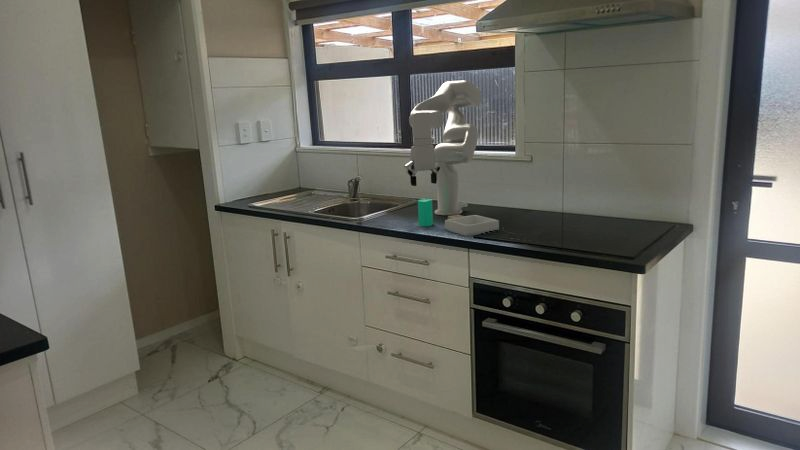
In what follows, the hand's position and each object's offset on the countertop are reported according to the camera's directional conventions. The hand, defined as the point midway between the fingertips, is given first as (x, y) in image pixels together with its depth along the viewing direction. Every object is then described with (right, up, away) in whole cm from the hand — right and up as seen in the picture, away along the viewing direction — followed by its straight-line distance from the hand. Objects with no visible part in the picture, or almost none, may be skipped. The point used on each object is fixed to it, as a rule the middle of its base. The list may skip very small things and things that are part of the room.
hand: (423, 184), depth 240 cm
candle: (+1, -17, +4) cm, 17 cm away
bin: (+18, -19, -10) cm, 28 cm away
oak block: (+13, -17, -1) cm, 22 cm away
